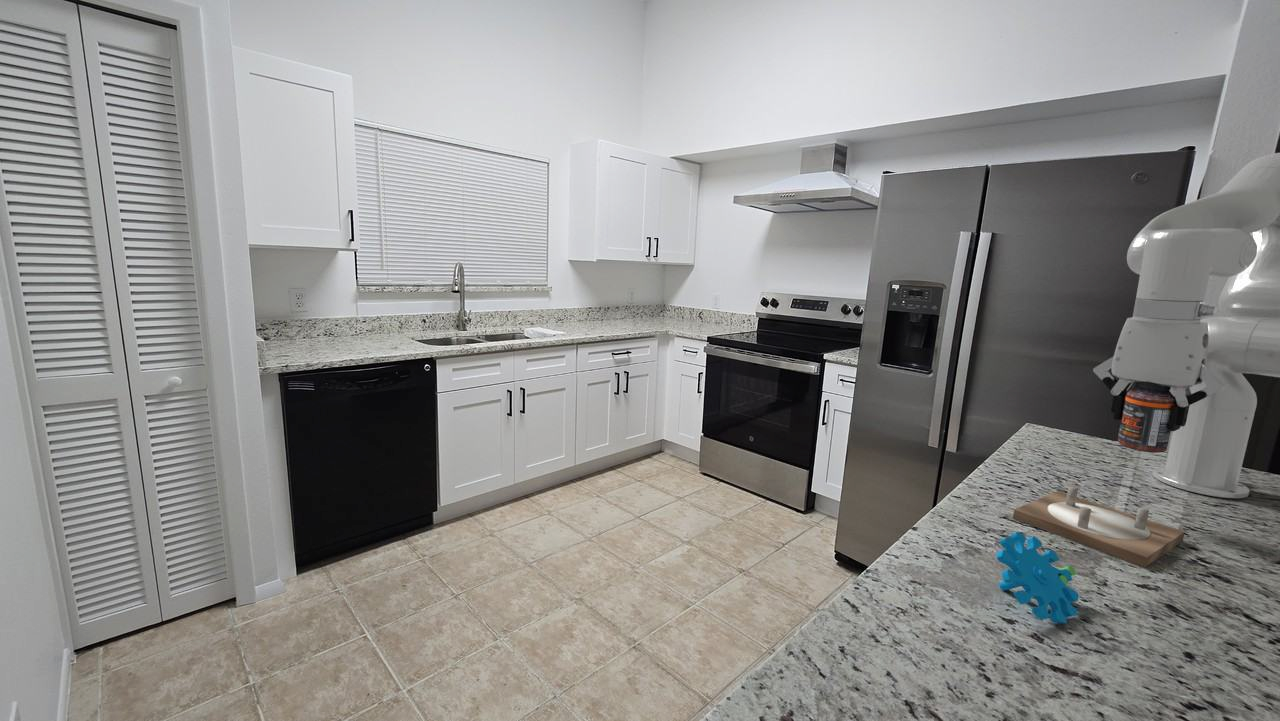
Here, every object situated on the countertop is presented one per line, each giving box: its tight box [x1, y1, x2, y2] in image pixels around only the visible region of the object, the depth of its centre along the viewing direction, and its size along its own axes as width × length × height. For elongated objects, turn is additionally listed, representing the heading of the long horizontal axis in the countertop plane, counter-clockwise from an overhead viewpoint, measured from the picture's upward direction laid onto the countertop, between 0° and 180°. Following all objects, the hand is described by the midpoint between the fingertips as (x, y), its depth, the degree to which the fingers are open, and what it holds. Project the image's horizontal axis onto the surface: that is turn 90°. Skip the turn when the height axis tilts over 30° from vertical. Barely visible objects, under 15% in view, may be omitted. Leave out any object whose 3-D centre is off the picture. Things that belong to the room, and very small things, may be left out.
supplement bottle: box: [1117, 381, 1176, 454], centre depth 85 cm, size 6×6×11 cm
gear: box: [996, 531, 1079, 625], centre depth 64 cm, size 11×6×10 cm
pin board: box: [1012, 486, 1186, 569], centre depth 82 cm, size 15×16×4 cm
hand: (1145, 422), depth 86 cm, fingers closed on supplement bottle, 6 cm apart
